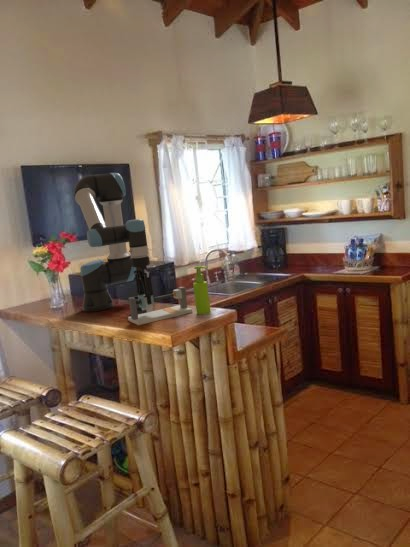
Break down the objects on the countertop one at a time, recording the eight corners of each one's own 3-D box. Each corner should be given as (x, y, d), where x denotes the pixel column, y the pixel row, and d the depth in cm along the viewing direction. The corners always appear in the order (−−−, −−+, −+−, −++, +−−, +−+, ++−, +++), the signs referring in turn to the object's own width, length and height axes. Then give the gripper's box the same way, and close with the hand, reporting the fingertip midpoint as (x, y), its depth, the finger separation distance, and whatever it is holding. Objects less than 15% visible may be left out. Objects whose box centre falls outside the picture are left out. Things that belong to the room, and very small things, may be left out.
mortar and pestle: (139, 315, 222) (135, 289, 220) (127, 313, 229) (124, 287, 227) (159, 309, 229) (156, 283, 227) (148, 307, 236) (144, 282, 235)
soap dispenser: (210, 314, 208) (204, 267, 205) (194, 315, 211) (188, 268, 208) (214, 310, 214) (209, 264, 211) (199, 311, 216) (194, 265, 213)
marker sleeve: (139, 306, 214) (137, 295, 213) (150, 304, 216) (148, 293, 215) (143, 308, 209) (141, 296, 208) (154, 306, 211) (152, 294, 211)
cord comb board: (128, 320, 216) (124, 296, 214) (180, 308, 227) (177, 285, 225) (138, 325, 205) (134, 300, 203) (192, 312, 216) (189, 288, 214)
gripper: (124, 256, 216) (132, 309, 219) (138, 259, 200) (146, 315, 203) (140, 254, 219) (148, 305, 222) (156, 256, 203) (163, 312, 207)
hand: (147, 310), depth 213 cm, fingers closed on marker sleeve, 5 cm apart
